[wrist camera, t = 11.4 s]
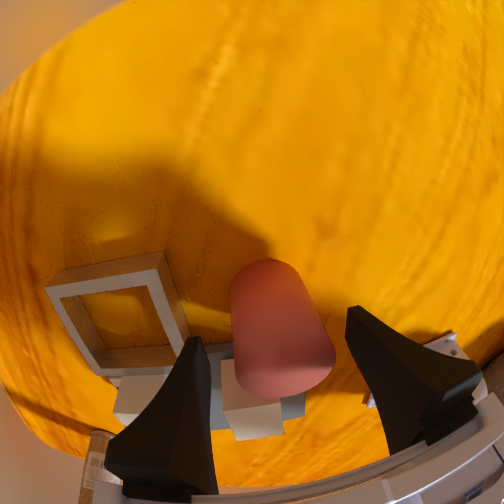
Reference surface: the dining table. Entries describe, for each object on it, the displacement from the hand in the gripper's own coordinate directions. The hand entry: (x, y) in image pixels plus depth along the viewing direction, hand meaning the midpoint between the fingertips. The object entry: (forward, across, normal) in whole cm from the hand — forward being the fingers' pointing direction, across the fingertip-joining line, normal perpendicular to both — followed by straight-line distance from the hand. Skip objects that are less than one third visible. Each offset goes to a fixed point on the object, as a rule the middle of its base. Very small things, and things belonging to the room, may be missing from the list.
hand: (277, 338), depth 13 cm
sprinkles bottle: (+4, +21, +19) cm, 28 cm away
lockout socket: (+4, +9, 0) cm, 10 cm away
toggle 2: (+3, +2, +6) cm, 7 cm away
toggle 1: (+3, +9, +6) cm, 11 cm away
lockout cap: (+4, 0, 0) cm, 4 cm away
